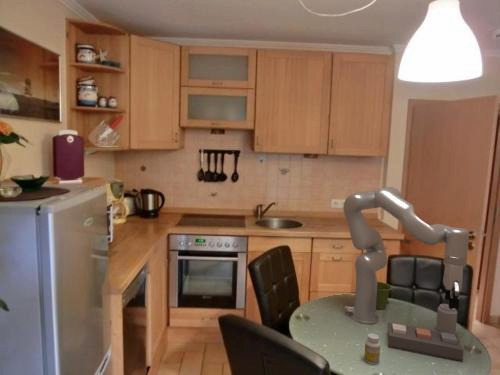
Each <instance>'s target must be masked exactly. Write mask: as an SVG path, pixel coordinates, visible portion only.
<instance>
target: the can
mask: <svg viewBox="0 0 500 375" xmlns="http://www.w3.org/2000/svg"><path fill="white" fill-rule="evenodd" d="M457 320H458V311H457V309H454V308H449V303H441V304H439V306H438V307H437V314H436V326H435V329H436V330H435V331H440V332H445V333H451V334H456V332H457Z"/></svg>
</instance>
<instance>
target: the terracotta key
mask: <svg viewBox="0 0 500 375" xmlns="http://www.w3.org/2000/svg"><path fill="white" fill-rule="evenodd" d="M427 329H428V328H423V329H422V327H417V328H416V337H419V338H424V339H429V340H431V333H430V330H431V329H429V330H427Z"/></svg>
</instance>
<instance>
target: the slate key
mask: <svg viewBox="0 0 500 375" xmlns="http://www.w3.org/2000/svg"><path fill="white" fill-rule="evenodd" d="M455 334H456V333H455ZM455 334H450V333H444V332H441V333H440V338H441V341H442V342H446V343H451V344H456V345H457V339H456V336H455Z"/></svg>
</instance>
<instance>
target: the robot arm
mask: <svg viewBox="0 0 500 375" xmlns="http://www.w3.org/2000/svg"><path fill="white" fill-rule="evenodd" d="M342 207H343V214H344V216H345V220H346V222H347V226H348V231H349V234H350V238H351V242H352V245H353V247H354V248H355V249H357V251H364V250H365V251H366V252H362V253H361V254H358V256H356V259H355V261H354V267H355V290H354V291H355V294H354V295H355V296H354V305H352V306H349V305H344V310H345V311H346V313H350V317H351V319H352V320H354V321H356V322H357V323H360V324H366V325H373V324H377V323H378V322H379V321H380V320H379V316H378V315H377V314H376V313H377V311H376V310H377V309H376V298H377V282H378V278H377V271H380V270H383V269H384V268H385V267H386V266H387V263H388V256H387V251H386V248H385V245H384V241H383V238H382V236H381V233H380V232H379V230H377V228H374V227H368V225H367V221H366V218H365V216H364V214H363V213H362V211H365V210H371V209H376V208H378V209H379V208H382V210H384V211H385V212H387V213H388V214H390V215H391V216H392V217H393V218H395V219H396V220H398V221H399V222H400V225H401V226H403V228H404V230H405V231H406V232H407V233H408V234H409V235H411V236H412V237H413V238H415V239H416V240H418V241H419V242H421V243H422V244H424V245H425V246H426V245H427V246H436V245H438V244H442V243H443V244H444V254H443V255H444V256H443V263H444V265H445V266H444V272H443V278H442V279H443V280H442V283H443V286H444V287H445V296H444V299H445V301H446V300H447V301H448V304H449V308H454V309H456V310H459V308H460V293H461V292H462V289H463V279H464V267H467V262H468V250H469V239H470V238H469V237H470V232H469V230H467V229H465V228H461V227H452V226H450V225H446V224H443V223H442V224H441V223H434V224H430V225H429V224H428V223H426V221H423V220H422V219H420V217H418V215H416V213H415V207H414V205H413V204H412V203H411V202H408V201H407V200H405V199H404V198H403V197H402V193H401V191H400V190H399V189H398V188H395V187H382V188H378V189H375V190H370V191H369V190H368V191H359V192H357V191H356V192H354V193H352V194H350V195H348V197H346V198H345V200H344V202H343V206H342Z"/></svg>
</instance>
